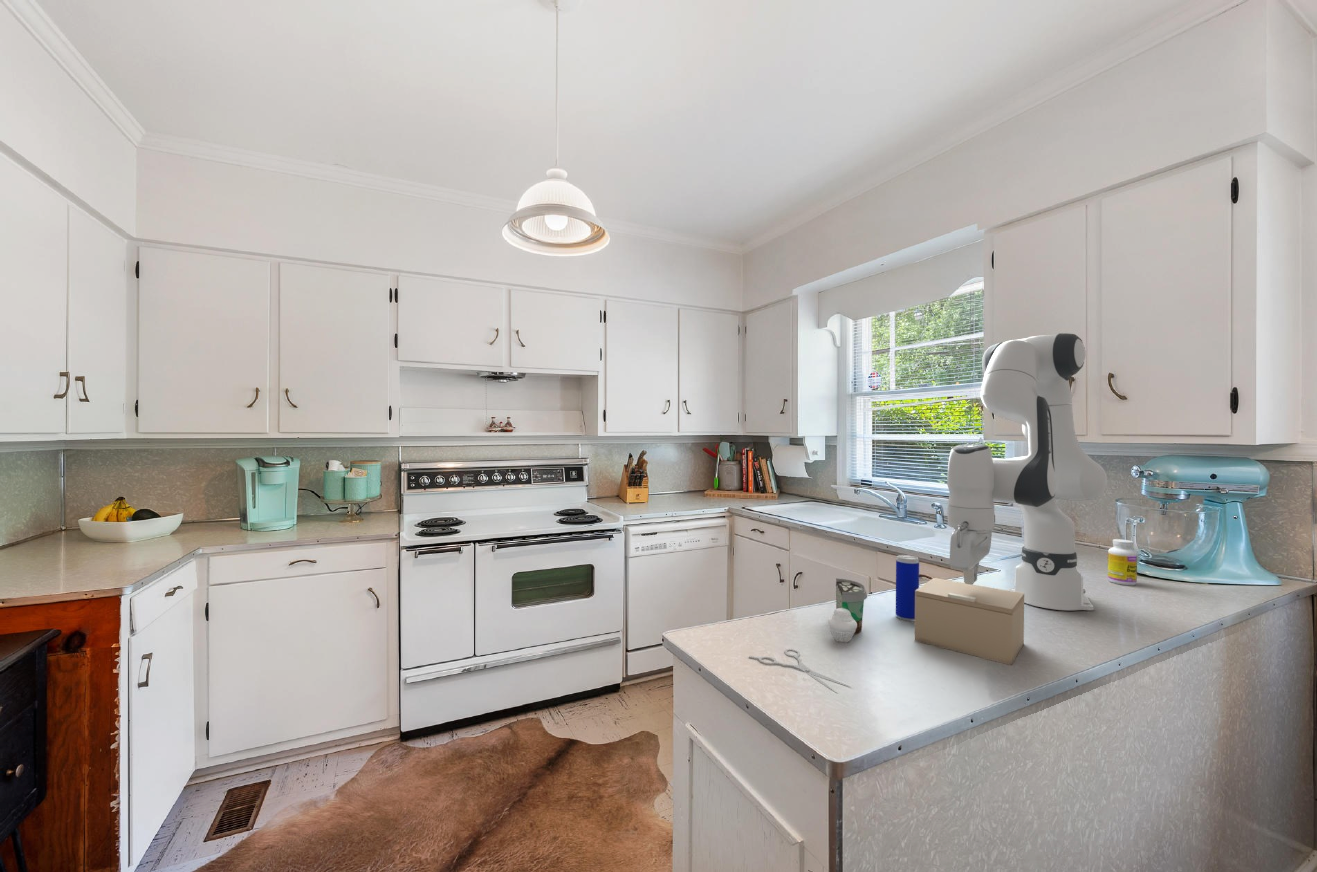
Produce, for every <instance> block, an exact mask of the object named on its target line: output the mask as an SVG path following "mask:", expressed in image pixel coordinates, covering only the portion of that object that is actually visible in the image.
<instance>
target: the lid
mask: <svg viewBox="0 0 1317 872" xmlns="http://www.w3.org/2000/svg"><path fill="white" fill-rule="evenodd" d="M915 595H917V596H922V597H927V598H932V599H937V600H942V601H947V602H952V603H957V604H962V605H967V606H972V607H977V608H982V609H987V610H992V611H998V612H1003V613H1008V614H1013V612H1014V611H1015V610H1016V608H1017V607H1018V606H1019V604H1020V603H1021V602H1022V600H1023V599H1024V593H1019V592H1013V591H1009V590H1007V589H1002V588H995V587H989V586H985V585H984V586H983V585H979V584H974V583H973V584H972V585H970V584H966V583H964V582H961V581H955V580H949V579H943V578H938V577H933V578H931V579H930V580H928V581H926V583H924V584H922V585H921V586H919V588H918V589H917V590H915Z"/></svg>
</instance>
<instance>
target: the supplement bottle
mask: <svg viewBox="0 0 1317 872" xmlns="http://www.w3.org/2000/svg"><path fill="white" fill-rule="evenodd" d="M1112 545H1113V546H1112V547H1110V548H1109V549H1108V557H1107V558H1108V563H1107V564H1108V565H1107V580H1108V581H1109V582H1110V583H1112V584H1117V585H1120V584H1121V585H1120V586H1135V585H1137V584H1138V583H1137V582H1138V580H1137V579H1138V578H1137V577H1138V552H1137V551H1136V550H1134V549H1133V547H1134V541H1133V540H1130V539H1129V540H1128V539H1119V538H1114V539H1112Z"/></svg>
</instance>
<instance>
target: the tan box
mask: <svg viewBox="0 0 1317 872" xmlns="http://www.w3.org/2000/svg"><path fill="white" fill-rule="evenodd" d="M1024 635H1025V603H1024V599H1023V600H1022V602H1021V603H1020V604H1019V606H1018V607H1017V608H1016V610H1015V611H1014V612H1013V614H1008V613H1003V612H998V611H992V610H987V609H982V608H977V607H972V606H967V605H962V604H957V603H952V602H947V601H942V600H937V599H932V598H927V597H922V596H917V595H915V621H914V642H917V643H921V644H926V645H929V646H934V647H937V648H941V649H942V648H943V649H946V650H950V651H953V652H957V651H959V652H958V653H961V652H962V653H961V654H965V653H966V654H965V655H969V654H970V655H969V656H974V657H977V658H982V659H986V660H990V661H994V662H996V663H997V662H998V663H1002V664H1006V665H1010V666H1012V665H1013V663H1014V661H1015V660H1016V659H1017V656H1018V655H1019V653H1020V651H1021V649H1022V648H1023V646H1024V645H1025V644H1024V643H1025V641H1024V640H1025V636H1024Z"/></svg>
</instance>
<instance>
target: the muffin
mask: <svg viewBox="0 0 1317 872" xmlns="http://www.w3.org/2000/svg"><path fill="white" fill-rule="evenodd" d="M827 625H828V628H829V631H830V632H831V635H832V636H833V638H834V640H835V641H837V642H840V643H848V642H850V641H851V639H852V638H853V636H855V634H854V633H855V631H856V628H857V623H856V621H855V620H854V619H853V618H852V616H851V613H850V611H849V610H847V609H843V608H838V609H834V610H833V614H832V615H831V616H830V617H829V618H828V619H827Z"/></svg>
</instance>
